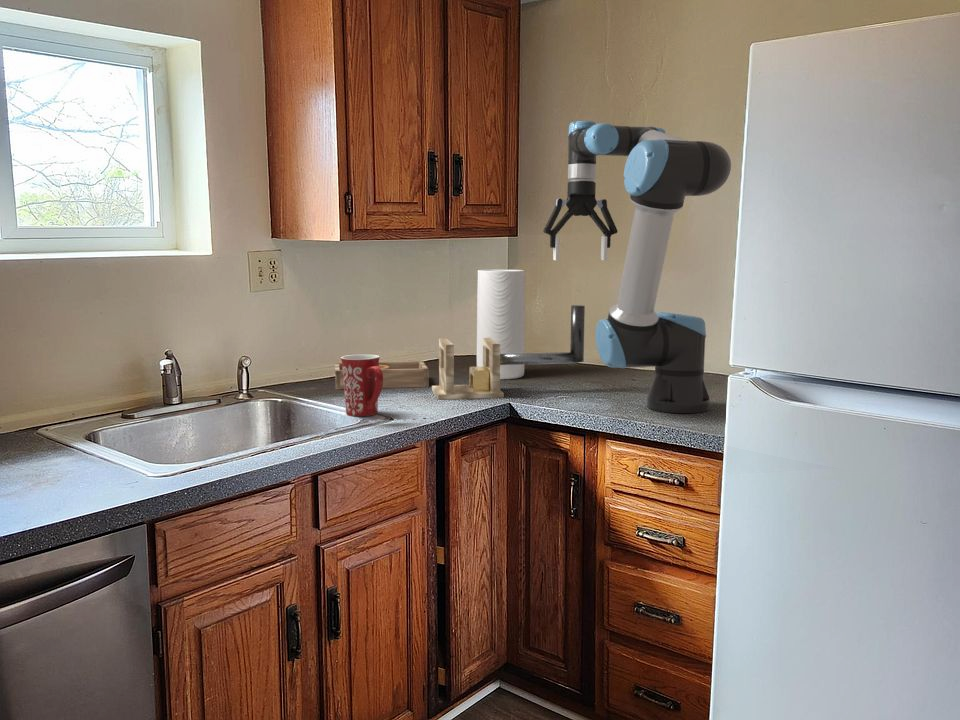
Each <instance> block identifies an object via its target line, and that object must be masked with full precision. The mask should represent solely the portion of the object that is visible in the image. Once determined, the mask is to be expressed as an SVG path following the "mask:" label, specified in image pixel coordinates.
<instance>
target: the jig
mask: <svg viewBox="0 0 960 720" xmlns="http://www.w3.org/2000/svg"><path fill="white" fill-rule="evenodd" d="M454 348H455V345H454V343H452V342H451V341H450V340H448V338H438V381H439V382H438V385H431V391H432V392H433V395H435V397H436V399H437V400H467V399H470V400H473V399H501V398H502V399H503V398H504V397H505V396H504V395H505V394H504V392H503V391H502V390H501V380H500V343H498V342H496V341H495V340H493V339H491V338H483V366H484V367H486V368H487V369H488V370H489V391H473V388H470V384H455V379H454V378H455V361H454V360H455V357H454V356H455V355H454V354H455V349H454ZM488 356H489V362H488Z"/></svg>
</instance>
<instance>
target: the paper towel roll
mask: <svg viewBox="0 0 960 720" xmlns="http://www.w3.org/2000/svg"><path fill="white" fill-rule="evenodd" d="M525 271H526V270H523V269H479V270H477V292H476V293H477V296H476V297H477V299H476V301H477V303H476V304H477V307H476V311H477V312H476V367H478V366H483V338H491V339H493V340H495V341H496V342H498V343H500V354H511V353H526V347H525V346H526V343H525V342H526V337H525V335H526V327H525V326H526V325H525V324H526V310H525V309H526V306H525V305H526V302H525V301H526V300H525V299H526V295H525V294H526V291H525V290H526V285H525V282H526V280H525V278H526V277H525V276H526V275H525V273H526V272H525ZM525 365H526V364H524V365H500V381H503V380H505V379H506V380H515V379H520V378H522V377H523V376H524V375H525Z"/></svg>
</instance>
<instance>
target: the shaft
mask: <svg viewBox="0 0 960 720" xmlns="http://www.w3.org/2000/svg"><path fill="white" fill-rule="evenodd" d="M585 308H586V307H585V305H583V304H581V305H580V304H579V305H578V304H577V305H576V304H575V305H574V304H573V305H571V306H570V352H568V351H567V352H525V353H511V354H500V365H524V364H525V365H555V364H556V365H561V364H578V363H584V357H585V355H584V354H585V319H586V318H585V313H586V312H585V310H586V309H585ZM488 362H489V356H488Z"/></svg>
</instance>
